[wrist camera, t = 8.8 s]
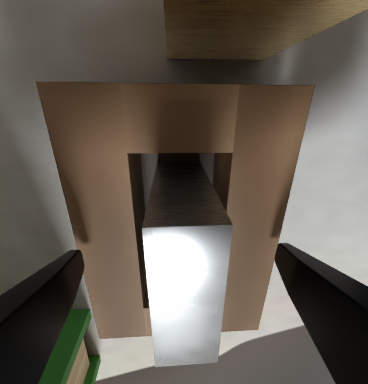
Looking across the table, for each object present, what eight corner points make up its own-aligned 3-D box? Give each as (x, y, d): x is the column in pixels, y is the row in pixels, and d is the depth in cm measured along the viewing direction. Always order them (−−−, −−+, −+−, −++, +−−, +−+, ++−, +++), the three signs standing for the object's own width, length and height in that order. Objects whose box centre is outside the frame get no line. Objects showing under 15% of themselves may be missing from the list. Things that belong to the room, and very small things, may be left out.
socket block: (267, 91, 11) (314, 85, 8) (238, 280, 17) (257, 329, 13) (82, 89, 11) (35, 81, 7) (115, 285, 16) (99, 338, 12)
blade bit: (199, 160, 12) (233, 224, 6) (197, 249, 15) (217, 362, 8) (157, 161, 12) (141, 227, 5) (162, 250, 14) (155, 366, 8)
